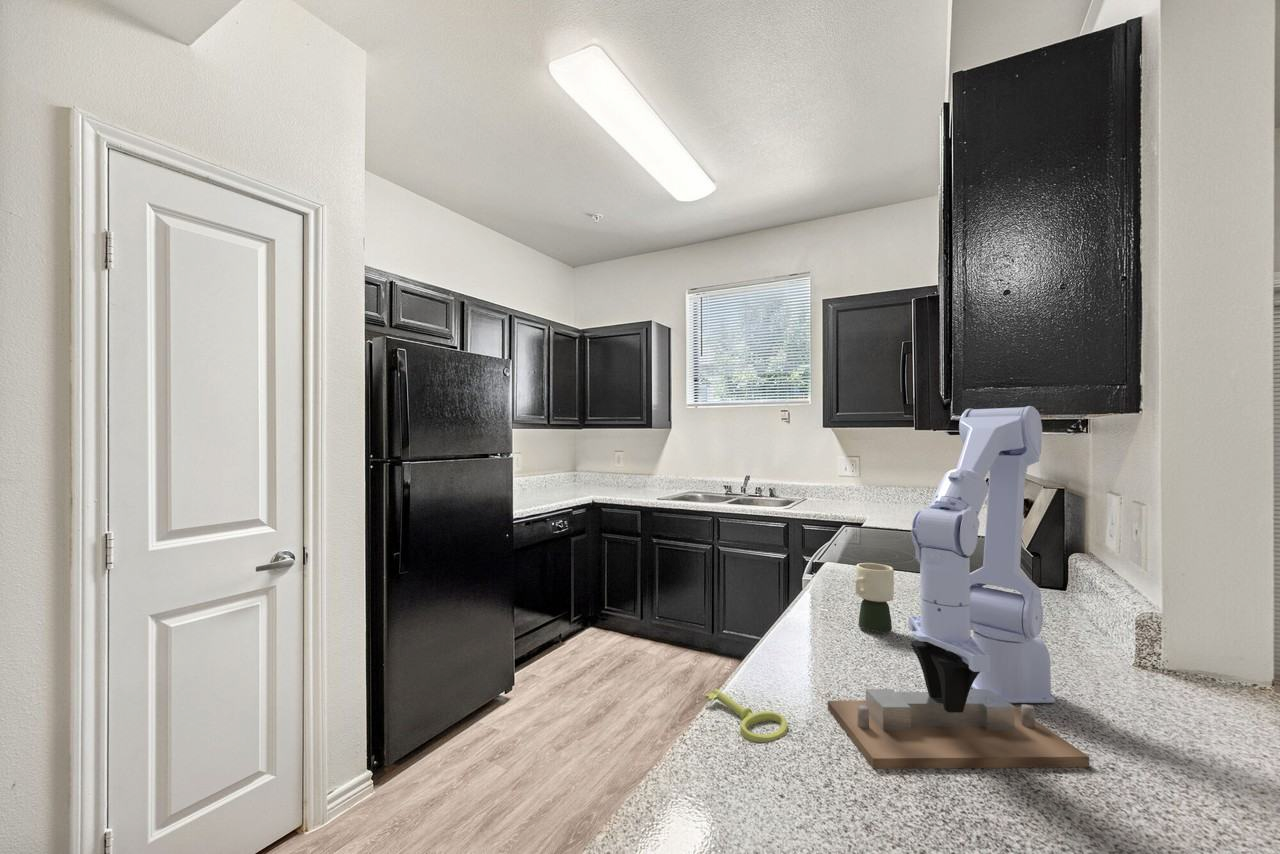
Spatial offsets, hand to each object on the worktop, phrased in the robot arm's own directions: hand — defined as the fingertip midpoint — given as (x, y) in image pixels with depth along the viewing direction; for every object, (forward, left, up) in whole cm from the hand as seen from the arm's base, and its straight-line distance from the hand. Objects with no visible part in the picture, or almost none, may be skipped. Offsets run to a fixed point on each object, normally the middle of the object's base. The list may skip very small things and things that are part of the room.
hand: (945, 704), depth 70 cm
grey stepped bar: (0, -2, -3) cm, 3 cm away
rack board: (0, 0, -4) cm, 4 cm away
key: (+25, -4, -5) cm, 26 cm away
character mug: (-9, -39, -4) cm, 40 cm away
